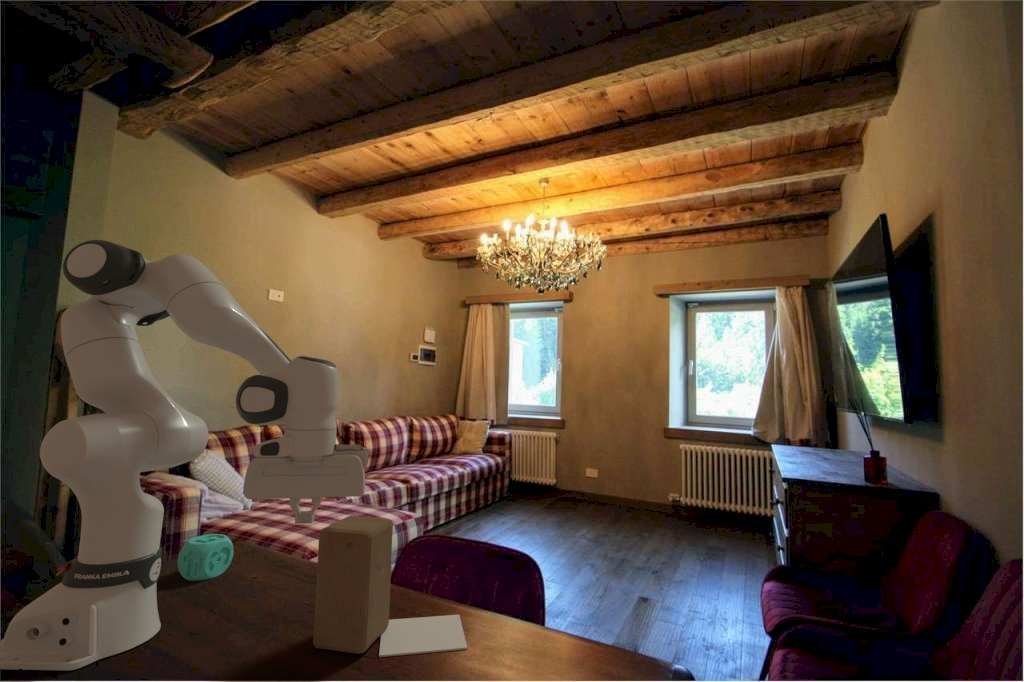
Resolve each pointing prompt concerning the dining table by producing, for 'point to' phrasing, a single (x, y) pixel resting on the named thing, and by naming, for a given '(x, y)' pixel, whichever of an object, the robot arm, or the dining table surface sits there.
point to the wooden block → (353, 584)
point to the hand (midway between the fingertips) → (304, 522)
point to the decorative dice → (205, 557)
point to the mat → (422, 635)
